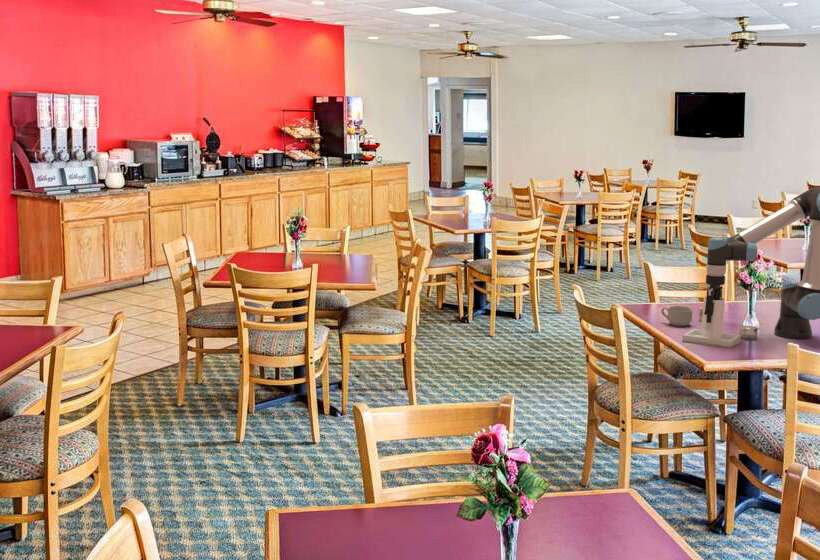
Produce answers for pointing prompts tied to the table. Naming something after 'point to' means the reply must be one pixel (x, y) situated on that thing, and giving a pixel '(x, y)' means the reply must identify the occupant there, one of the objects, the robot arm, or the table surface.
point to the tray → (712, 339)
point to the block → (701, 314)
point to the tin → (748, 332)
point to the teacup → (678, 315)
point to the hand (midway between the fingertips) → (712, 328)
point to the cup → (714, 319)
